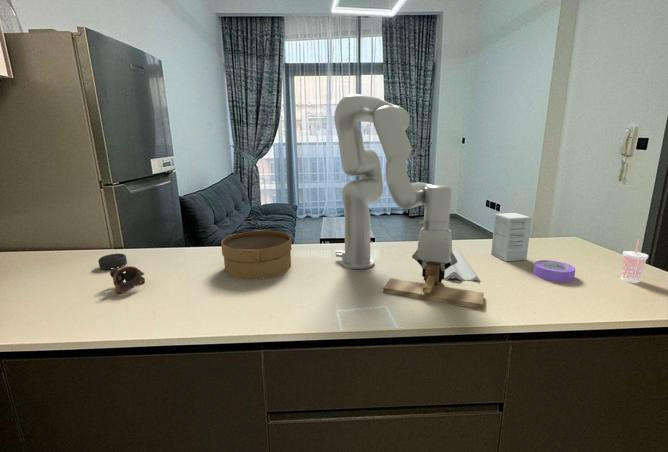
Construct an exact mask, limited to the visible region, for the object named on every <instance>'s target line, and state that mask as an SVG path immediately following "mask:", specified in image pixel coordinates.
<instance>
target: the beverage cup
mask: <svg viewBox="0 0 668 452" xmlns="http://www.w3.org/2000/svg"><path fill="white" fill-rule="evenodd" d="M640 240H641V239H640V238H637V241H636V245H635V249H634V251H633V250H623V252H622V256H623V257H622V266H621V275H620V279H621V280H622V281H623V282H627V283H632V284H638V282H639V283H640V281H641V278H642V275H643V271H644V270H645V269H644V268H645V266H646V262H647V259H648V258H649V254H647V253H643V252H640V251H638V249H639V243H640Z"/></svg>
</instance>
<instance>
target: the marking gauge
mask: <svg viewBox="0 0 668 452" xmlns="http://www.w3.org/2000/svg"><path fill="white" fill-rule="evenodd" d="M440 268H441V265H440V262H432V261H428V262H427V264H426V272H425V280H424V283H425V284H424V286H423V292H426V293H430V291H431V289H432V287H433V285H438V286H440V285H439V284H440V283H439V271H440Z"/></svg>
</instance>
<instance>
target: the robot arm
mask: <svg viewBox="0 0 668 452" xmlns="http://www.w3.org/2000/svg"><path fill="white" fill-rule="evenodd" d="M410 118H411V117H410V115H409V112H408V111H407V110H406V109H405V108H403V107H401V106H399V105H396V104H393V103H391V102H388V101H386V100H384V99H382V98H379V97H375V96H371V95H364V94H358V93H354V94H352V93H351V94H347V95H345V96H344V97H342V98H341V100H339V102H338V104H337V105H336V108H335V111H334V119H333V120H334V125H335V129H336V136H337V139H338V149H339V153H340V154H339V155H340V160H341V168H342V171H343V173H344V174H346V176H349V177H358V176H359V179H355V180H354V179H353V180H351V181H349V182H347V183H346V184H345V185H344V186H343V188H342V191H341V200H342V204H343V211H344V212H343V213H344V214H343V215H344V249H343V250H339V249H336V250H335V257H336V258H341V260H340V265H341V266H342V267H344V268H347V269H350V270H365V269H366V270H367V269H369V268H371V267H374V265H375V260H374V258H372V257H371V232H372V231H371V229H372V227H371V226H372V225H371V223H372V222H371V213H370V209H369V207H368V205H371V204H375V203H376V202H378V201H380V200H381V198H382V196H383V193H384V181H383V175H382V166H381V160H380V157H379V155H378V154H377V153H376V151H374V150H373V149H371V148H365V145H364V140H363V134H362V131H361V129H360V127H359V125H358V122H363V123H364V122H367V123H372V124H373V126H374V129H375V132H376V134H377V137H378V139H379V142H380V145H381V147H382V150H383V153H384V155H385V159H386V160H385V181H386V185H387V188H388V191H389V193H390V195H391V198H392V200H393V202H394V204H396V206H397V207H399V208H401V209H402V210H403V209H404V210H409V209H413V208H416V207H420V206H424V212H423V213H424V214H423V215H424V216H423V219H419V220H418V225H421V226H422V227H421V228H420V230H419V235H418V241H417V242H418V243H417V249H416V250H415V251H414V253H413V254H412V255H411V258H412V259H413V260H415V261H416V262H417V263H418V264H419V266H420V267H421V269H422V272H421V274H422V275H421V277H422V278H423V281H425V272H426V264H427V262H428V261H432V262H440V265H441V268H440V271H439V284H441V283H442V281H445V280H444V275H445V270H446V269H447V268H449V267H450V266H452V265H454V264H456V263H457V259H456V257H455V256H454V254H453V252H452V250H453V238H452V237H453V236H452V230H451V228H450V216H451V202H452V188H451V187H450V186H449V185H446V184H430V183H426V182H422V181H417V182H411V181H410V178H409V175H408V172H407V161H408V158H409V156H410V154H411V152H412V150H413V149H412V145H411V143H410V140H409V137H408V135H407V132H406V131H407V129H409V128H408V127H409V126H410V122H411V119H410ZM450 259H451V261H450Z"/></svg>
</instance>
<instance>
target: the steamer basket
mask: <svg viewBox="0 0 668 452" xmlns="http://www.w3.org/2000/svg"><path fill="white" fill-rule="evenodd" d="M220 243H221V255H222V257H223V262H224V272H225V274H226V275H227V276H228V277H230V278H233V279H238V280H247V281H248V280H252V281H253V280H264V279H270V278H273V277H274V278H275V277H277V276H279V275H282V274H284V273H286V272H288V271H289V270H290V268H291V267H292V255H291V254H292V253H291V251H292V249H293V248H292V236H291V235H290V234H288V233H286V232H282V231H277V230H253V231H252V230H251V231H245V232H239V233H235V234H231V235H229V236H227V237H225V238H223V239H222V240H221V242H220ZM269 277H270V278H269ZM263 278H264V279H263Z"/></svg>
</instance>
